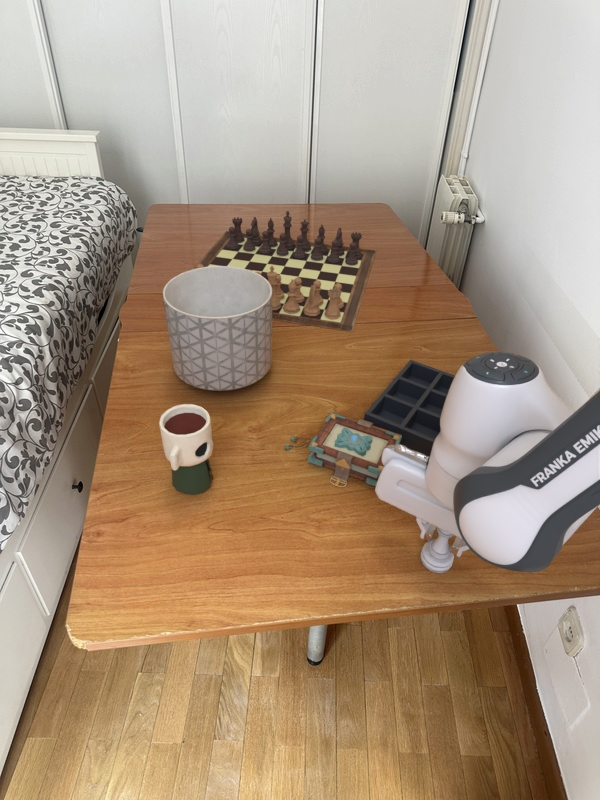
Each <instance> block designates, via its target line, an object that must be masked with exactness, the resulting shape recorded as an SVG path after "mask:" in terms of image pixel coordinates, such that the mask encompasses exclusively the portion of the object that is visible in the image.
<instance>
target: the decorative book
mask: <svg viewBox="0 0 600 800" xmlns="http://www.w3.org/2000/svg"><path fill="white" fill-rule="evenodd" d="M401 438H402V435H400V434H397V433H394V432H391V431H388V430H385V429H382V428H379V427H376V426H373V423H372V422H369V421H365V420H364V419H361V418H359V419H354V418H352V417H349V416H346V415H343V414H339V413H337V412H330V413H329V415H328V416H327V418H326V419H325V421H324V425H323V426H322V428H320V429H319V432H318V434H317V435H314V437H313V438H308V437H298V436H296V437H294V436H291V437H290V441H292V442H295V443H296V442H297V441H298V440H309V441H310V442H306V443H303V444H300V445H297V446H295V445H292V444H286V445H285V444H284V449H285V450H290V449H291V448H300V447H302V446H305V445H308V444H309V445H308V446H307V447H308V451H310V454H309V455H308V456H307V462H308V463H310V464H313V465H316V466H318V467H321V468H322V467H326V468H328V469H331V470H333V471H334V474H333V475H331V477H330V478H329V483H330V484H331V485H333V486H334V487H338V488H346V487H347V485H348V480H349V478H350V477H353V478H355V479H357V480H361V481H363V482H365V483H366V484H367V485H370V486H373V487H375V488H376V484H377V481H378V478H379V476H380V474H381V471H382V470H383V468H384V465H383V463H382V454H383V449H384V448H385V447H386V446H388V445H396V444H400V442H401ZM333 481H335V482H333ZM339 484H342V485H339Z"/></svg>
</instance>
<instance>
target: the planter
mask: <svg viewBox="0 0 600 800" xmlns="http://www.w3.org/2000/svg"><path fill="white" fill-rule="evenodd" d="M162 299H163V302H164V303H163V306H164V313H165V321H166V327H167V335H168V342H169V349H170V356H171V363H172V369H173V371H174V373H175V375H176V376H177V377H178V378H179V379H180V380H181V381H182V382H184V383H185V384H187V385H189V386H191V387H194V388H197V389H201V390H206V391H215V392H216V391H217V392H223V391H225V392H226V391H234V390H239V389H243V388H245V387H248V386H251V385H253V384H256V382H258V381H260V380H262V379H263V378H264V377H265V376H266V375H267V373H269V371H270V369H271V367H272V364H273V320H272V287H271V285H270V283H269V282H268V281H267V280H266V279H265V278H264V277H263V276H261V275H259V274H257V273H255V272H253V271H250V270H247V269H243V268H238V267H230V266H210V267H202V268H197V269H193V270H192V269H190V270H189V271H186V270H185V271H184V272H182V273H178V274H177V275H176V276H174V277H172V278H171V279H170V280H168V282H166V284H165V285H164V287H163V289H162Z"/></svg>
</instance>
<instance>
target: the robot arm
mask: <svg viewBox="0 0 600 800" xmlns="http://www.w3.org/2000/svg"><path fill="white" fill-rule="evenodd" d="M454 375H455V377H454V379H453V382H452V384H451V386H450V389H449V392H448V394H447V397H446V400H445V403H444V406H443V410H442V413H441V417H440V429H441V431H440V433H439V434H438V436H437V437H436V439H435V441H434V443H433V447H432V451H431V454H430V457H429V456H427V455H425V454H422V453H420V452H416V451H414V450H411V449H409V448H407V447H406V446H404V445H401V444H396V445H388V446H386V447H385V448H384V449H383V454H382V463H383V465H384V468H383V470H382V471H381V474H380V476H379V478H378V481H377V484H376V487H375V489H374V493H375V494H376V496H377V497H378V499H379V500H381V501H382V502H385V503H387V504H388V505H391V506H393V507H395V508H397V509H399V510H401V511H403V512H405V513H407V514H409V515H412V516H414V517H416V518H415V521H416V523H417V526H418V527H419V529H420V531H421V532H420V535H419V538H420V539H422V540H424V541H427V542H431V541H432V540H433V539H434V536H435V533H436V532H437V527H438V528H440V529H442V530H445V531H447V532H449V533H451V534H453V535H454V536H455V537H454V540H453V542H452V544H451V546H450V547H451V550H450V553H452V554H454V556H456V557H458V558H461V556H462V555H463V552H465V551H468V550H470V551H471V552H472V553H473V554H475V555H476V556H477V557H478V558H479V559H481V560H482V561H484V562H486V563H488V564H490V565H492V566H494V567H498V568H501V569H503V570H507V571H512V572H520V573H539V572H541V571H544V570H546V569H547V568H548V567H549V566H550V565H551V563H552V562H553V561H554V560H555V558H556V557H557V556H558V554H559V553H560V552H561V550H562V548H563V546H564V545H565V543H567V542H568V540H569V539H570V538H571V537H572V536H573V535H574V534H575V532H576V531H577V530H578V529H579V528H580V527H581V526H582V525H583V524H584V523H585V521H586V520H587V519H588V518H589V517H590V516H591V515H592V514H593V512H594V511H596V509H597V508H598V507H599V506H600V387H599V388H597V390H596V391H595V392H594V393H593V395H591V396H590V397H589V398H588V400H586V402H584V403H583V404H582V405H581V406H580V407H579V408H577V409H576V410H575V409H573V408H572V407H571V406H570V405H568V404H567V403H566V402H565V401H564V400H563V399H561V398H560V396H558V394H557V393H556V392H555V391H554V390H553V389H552V388H551V386H550V385H549V383H548V381H547V379H546V377H545V375H544V372H543V371H542V368H541V367H540V366H539V365H538V363H536V362H534V361H533V360H532V359H530V358H528V357H526V356H523V355H520V354H517V353H514V352H508V351H491V352H490V351H489V352H485V353H481V354H479V355H476V356H474V357H472V358H470V359H468V360H466V361H465V362H463V364H462V365H460V367H459V368H458V370H457V372H456V374H454Z"/></svg>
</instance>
